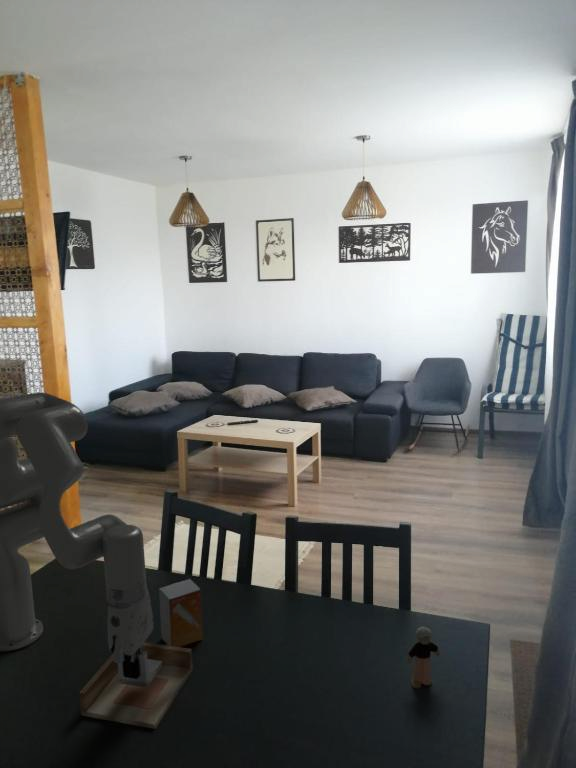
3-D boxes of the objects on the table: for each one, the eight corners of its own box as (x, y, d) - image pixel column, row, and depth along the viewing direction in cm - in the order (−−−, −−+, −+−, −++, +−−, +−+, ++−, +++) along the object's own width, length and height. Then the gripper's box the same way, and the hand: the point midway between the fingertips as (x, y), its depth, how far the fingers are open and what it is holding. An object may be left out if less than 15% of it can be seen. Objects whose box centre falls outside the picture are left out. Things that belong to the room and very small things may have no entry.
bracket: (146, 687, 120) (144, 655, 119) (119, 683, 121) (116, 651, 120) (162, 665, 126) (160, 635, 125) (136, 661, 128) (134, 631, 127)
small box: (171, 651, 139) (168, 599, 137) (161, 638, 144) (158, 587, 142) (203, 639, 143) (201, 588, 141) (192, 626, 149) (189, 577, 146)
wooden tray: (81, 715, 119) (79, 692, 119) (126, 659, 137) (125, 639, 136) (155, 729, 115) (153, 705, 115) (192, 669, 133) (191, 648, 132)
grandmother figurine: (414, 693, 124) (415, 637, 121) (402, 682, 127) (403, 627, 125) (443, 681, 127) (445, 626, 125) (431, 671, 130) (432, 617, 128)
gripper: (124, 612, 109) (131, 703, 113) (162, 572, 124) (167, 654, 127) (87, 608, 111) (95, 697, 114) (129, 569, 126) (135, 649, 129)
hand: (133, 674), depth 121 cm, fingers closed on bracket, 1 cm apart
